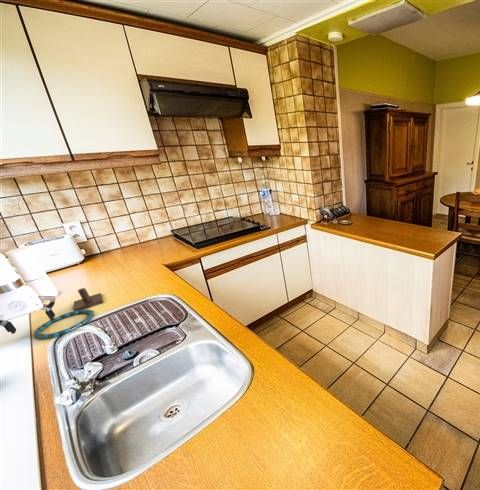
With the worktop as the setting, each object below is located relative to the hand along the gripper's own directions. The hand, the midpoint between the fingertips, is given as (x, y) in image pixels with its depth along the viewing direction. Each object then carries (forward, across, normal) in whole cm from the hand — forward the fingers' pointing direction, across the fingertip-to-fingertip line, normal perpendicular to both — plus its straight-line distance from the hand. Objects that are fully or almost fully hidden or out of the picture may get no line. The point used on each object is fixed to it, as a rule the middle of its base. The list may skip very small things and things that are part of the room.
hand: (34, 325), depth 101 cm
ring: (+4, +7, 0) cm, 8 cm away
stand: (+5, +14, +14) cm, 20 cm away
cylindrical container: (+4, 0, +39) cm, 39 cm away
